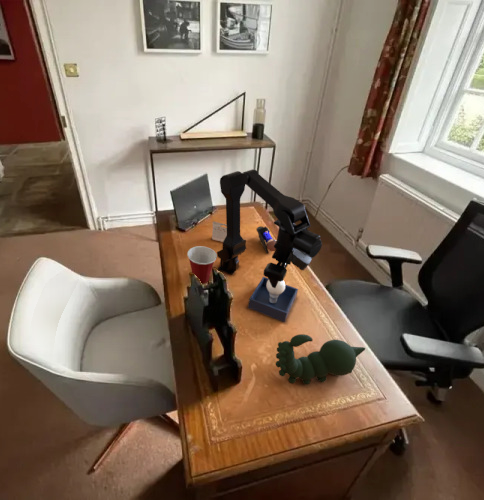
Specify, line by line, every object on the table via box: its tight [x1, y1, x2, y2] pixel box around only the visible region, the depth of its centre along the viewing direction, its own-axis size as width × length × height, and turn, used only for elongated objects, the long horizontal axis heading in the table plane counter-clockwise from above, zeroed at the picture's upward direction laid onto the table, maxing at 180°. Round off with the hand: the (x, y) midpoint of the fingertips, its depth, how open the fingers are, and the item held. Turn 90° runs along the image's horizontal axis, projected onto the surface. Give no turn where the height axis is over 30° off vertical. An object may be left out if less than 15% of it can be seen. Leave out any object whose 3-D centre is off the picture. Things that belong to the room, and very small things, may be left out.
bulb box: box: [247, 276, 299, 323], centre depth 111 cm, size 13×13×4 cm
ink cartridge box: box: [211, 221, 227, 243], centre depth 139 cm, size 2×11×10 cm, turn 67°
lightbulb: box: [266, 280, 287, 303], centre depth 109 cm, size 6×6×11 cm
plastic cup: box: [186, 245, 218, 285], centre depth 118 cm, size 11×11×12 cm
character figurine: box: [256, 226, 277, 254], centre depth 138 cm, size 8×7×15 cm
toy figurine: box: [275, 333, 366, 386], centre depth 85 cm, size 9×19×25 cm
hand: (278, 279), depth 106 cm, fingers open, 9 cm apart
